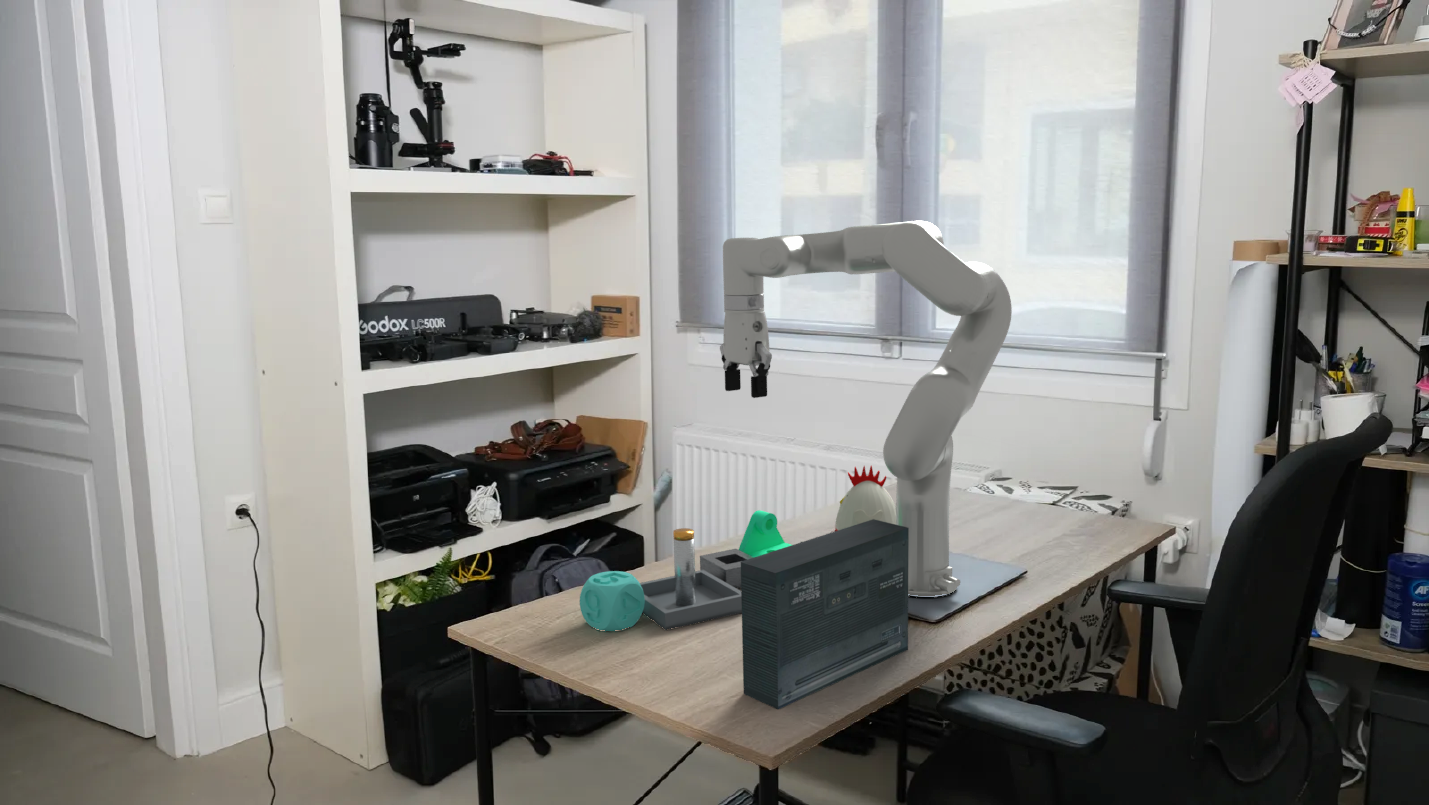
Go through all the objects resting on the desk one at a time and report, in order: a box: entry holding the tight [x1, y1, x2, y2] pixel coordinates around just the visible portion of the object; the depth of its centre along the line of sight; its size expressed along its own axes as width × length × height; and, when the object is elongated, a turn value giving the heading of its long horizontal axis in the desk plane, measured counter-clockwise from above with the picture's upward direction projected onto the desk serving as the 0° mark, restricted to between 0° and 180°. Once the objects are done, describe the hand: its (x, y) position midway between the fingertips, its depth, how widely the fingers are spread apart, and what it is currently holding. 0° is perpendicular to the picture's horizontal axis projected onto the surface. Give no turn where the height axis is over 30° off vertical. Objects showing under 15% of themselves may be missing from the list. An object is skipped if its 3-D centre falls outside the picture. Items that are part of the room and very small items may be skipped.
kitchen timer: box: [834, 465, 896, 532], centre depth 228 cm, size 14×14×15 cm
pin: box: [672, 527, 696, 607], centre depth 188 cm, size 4×4×13 cm
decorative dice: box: [579, 570, 645, 632], centre depth 182 cm, size 8×8×8 cm
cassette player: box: [740, 519, 909, 710], centre depth 160 cm, size 29×7×20 cm, turn 132°
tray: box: [639, 569, 742, 631], centre depth 189 cm, size 16×16×3 cm
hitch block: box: [699, 548, 754, 589], centre depth 203 cm, size 10×8×4 cm
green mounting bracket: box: [737, 509, 792, 557], centre depth 211 cm, size 12×8×10 cm, turn 132°
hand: (745, 393), depth 205 cm, fingers open, 9 cm apart
